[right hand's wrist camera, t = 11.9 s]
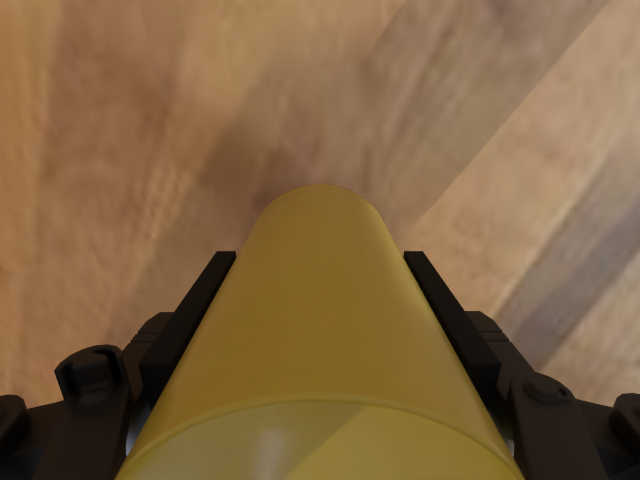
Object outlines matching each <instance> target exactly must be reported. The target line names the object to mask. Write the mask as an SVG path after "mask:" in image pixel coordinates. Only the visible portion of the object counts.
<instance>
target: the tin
mask: <svg viewBox="0 0 640 480" xmlns="http://www.w3.org/2000/svg"><path fill="white" fill-rule="evenodd" d="M114 480H525V478H524V477H523V475H522V473H521V471H520V469H519V467H518V466H517V464H516V462H515V460H514V458H513V456H512V455H511V453H510V451H509V449H508V447H507V446H506V444H505V442H504V440H503V438H502V436H501V435H500V433H499V431H498V429H497V427H496V425H495V424H494V422H493V420H492V418H491V416H490V415H489V413H488V411H487V409H486V407H485V405H484V404H483V402H482V400H481V398H480V396H479V394H478V393H477V391H476V389H475V387H474V385H473V384H472V382H471V380H470V378H469V376H468V374H467V373H466V371H465V369H464V367H463V365H462V363H461V362H460V360H459V358H458V356H457V354H456V353H455V351H454V349H453V347H452V345H451V343H450V342H449V340H448V338H447V336H446V334H445V332H444V331H443V329H442V327H441V325H440V323H439V322H438V320H437V318H436V316H435V314H434V312H433V311H432V309H431V307H430V305H429V303H428V302H427V300H426V298H425V296H424V294H423V292H422V291H421V289H420V287H419V285H418V283H417V281H416V280H415V278H414V276H413V274H412V272H411V271H410V269H409V267H408V265H407V263H406V261H405V260H404V258H403V256H402V254H401V252H400V250H399V249H398V247H397V245H396V243H395V241H394V240H393V238H392V236H391V234H390V232H389V230H388V229H387V227H386V225H385V223H384V221H383V219H382V218H381V216H380V215H379V213H378V212H377V211H376V209H375V208H374V207H373V206H372V205H371V204H370V203H369V202H368V201H366V200H365V199H364V198H362V197H361V196H359V195H358V194H356V193H354V192H352V191H350V190H348V189H345V188H342V187H339V186H333V185H326V184H315V185H306V186H302V187H298V188H295V189H292V190H290V191H288V192H286V193H284V194H282V195H280V196H279V197H277V198H276V199H275V200H273V201H272V202H271V203H270V204H269V205H268V206H267V207H266V208H265V209H264V211H263V212H262V213H261V214H260V216H259V218H258V219H257V221H256V223H255V225H254V226H253V228H252V230H251V232H250V234H249V236H248V237H247V239H246V241H245V243H244V245H243V246H242V248H241V250H240V252H239V254H238V256H237V257H236V259H235V261H234V263H233V265H232V266H231V268H230V270H229V272H228V274H227V276H226V277H225V279H224V281H223V283H222V285H221V286H220V288H219V290H218V292H217V294H216V296H215V297H214V299H213V301H212V303H211V305H210V306H209V308H208V310H207V312H206V314H205V316H204V317H203V319H202V321H201V323H200V325H199V326H198V328H197V330H196V332H195V334H194V336H193V337H192V339H191V341H190V343H189V345H188V346H187V348H186V350H185V352H184V354H183V356H182V357H181V359H180V361H179V363H178V365H177V366H176V368H175V370H174V372H173V374H172V376H171V377H170V379H169V381H168V383H167V385H166V386H165V388H164V390H163V392H162V394H161V396H160V397H159V399H158V401H157V403H156V405H155V406H154V408H153V410H152V412H151V414H150V416H149V417H148V419H147V421H146V423H145V425H144V426H143V428H142V430H141V432H140V434H139V436H138V437H137V439H136V441H135V443H134V445H133V446H132V448H131V450H130V452H129V454H128V456H127V457H126V459H125V461H124V463H123V465H122V466H121V468H120V470H119V472H118V474H117V476H116V477H115V479H114Z"/></svg>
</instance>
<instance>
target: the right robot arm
mask: <svg viewBox="0 0 640 480" xmlns="http://www.w3.org/2000/svg"><path fill="white" fill-rule="evenodd" d="M403 258H404V260H405V261H406V263H407V265H408V267H409V269H410V271H411V272H412V274H413V276H414V278H415V280H416V281H417V283H418V285H419V287H420V289H421V291H422V292H423V294H424V296H425V298H426V300H427V302H428V303H429V305H430V307H431V309H432V311H433V312H434V314H435V316H436V318H437V320H438V322H439V323H440V325H441V327H442V329H443V331H444V332H445V334H446V336H447V338H448V340H449V342H450V343H451V345H452V347H453V349H454V351H455V353H456V354H457V356H458V358H459V360H460V362H461V363H462V365H463V367H464V369H465V371H466V373H467V374H468V376H469V378H470V380H471V382H472V384H473V385H474V387H475V389H476V391H477V393H478V394H479V396H480V398H481V400H482V402H483V404H484V405H485V407H486V409H487V411H488V413H489V415H490V416H491V418H492V420H493V422H494V424H495V425H496V427H497V429H498V431H499V433H500V435H501V436H502V438H503V440H504V442H505V444H506V446H507V447H508V449H509V451H510V453H511V455H512V456H513V458H514V460H515V462H516V464H517V466H518V467H519V469H520V471H521V473H522V475H523V477H524V478H525V480H640V394H635V393H627V394H622V395H620V396H619V397H617V398H616V401H615V403H614V406H613V408H612V407H608V406H604V405H599V404H595V403H591V402H586V401H582V400H579V399H575V397H574V396H573V394H572V393H571V391H570V390H569V389H568V388H566V387H565V386H564V385H563V384H562V383H560V382H558V381H557V380H555V379H553V378H551V377H549V376H546V375H543V374H540V373H537V372H535V371H534V370H533V369H532V367H531V366H530V365H529V364H528V362H527V361H526V360H525V359H524V357H523V356H522V355H521V354H520V353H519V351H518V350H517V349H516V348H515V346H514V345H513V344H512V343H511V342H509V339H508V338H507V336H506V335H505V334H504V333H502V330H501V329H500V328H499V327H498V325H497V324H496V323H495V322H494V320H492V319H491V318H489V317H488V316H486V315H485V314H483V313H482V312H480V311H464V309H463V308H462V307H461V305H460V304H459V302H458V301H457V299H456V298H455V297H454V295H453V294H452V292H451V291H450V289H449V288H448V287H447V285H446V284H445V282H444V281H443V280H442V278H441V277H440V275H439V274H438V272H437V271H436V270H435V268H434V267H433V265H432V264H431V262H430V261H429V260H428V258H427V257H426V255H425V254H424V252H423V251H404V257H403ZM235 259H236V251H217V252H216V253H215V255H214V256H213V258H212V259H211V261H210V262H209V263H208V265H207V266H206V268H205V269H204V270H203V272H202V273H201V275H200V276H199V278H198V279H197V280H196V282H195V283H194V285H193V286H192V288H191V289H190V290H189V292H188V293H187V295H186V296H185V297H184V299H183V300H182V302H181V303H180V305H179V306H178V307H177V309H176V310H175V312H160V313H158V314H157V315H155V316H154V317H152V318H151V319H149V320H148V321H146V322H145V324H144V325H143V326H142V327H141V329H140V330H139V331H138V334H136V335H135V336H134V337H133V339H132V340H131V343H129V344H128V345H127V346H126V347H125V349H124V350H123V351H121V350H120V349H119V348H118V347H117V346H113V345H96V346H92V347H89V348H85V349H82V350H80V351H78V352H76V353H74V354H72V355H70V356H69V357H67V358H66V359H65V360H63V361H62V362H61V363H60V364H59V365H58V366H57V368H56V369H55V370H54V372H55V375H56V378H57V381H58V384H59V386H60V389H61V392H62V395H63V398H64V400H63V401H60V402H56V403H51V404H47V405H43V406H39V407H34V408H30V409H27V407H26V405H25V402H24V400H23V399H22V398H21V397H19V396H18V395H3V396H0V480H114V479H115V477H116V476H117V474H118V472H119V470H120V468H121V466H122V465H123V463H124V461H125V459H126V457H127V456H128V454H129V452H130V450H131V448H132V446H133V445H134V443H135V441H136V439H137V437H138V436H139V434H140V432H141V430H142V428H143V426H144V425H145V423H146V421H147V419H148V417H149V416H150V414H151V412H152V410H153V408H154V406H155V405H156V403H157V401H158V399H159V397H160V396H161V394H162V392H163V390H164V388H165V386H166V385H167V383H168V381H169V379H170V377H171V376H172V374H173V372H174V370H175V368H176V366H177V365H178V363H179V361H180V359H181V357H182V356H183V354H184V352H185V350H186V348H187V346H188V345H189V343H190V341H191V339H192V337H193V336H194V334H195V332H196V330H197V328H198V326H199V325H200V323H201V321H202V319H203V317H204V316H205V314H206V312H207V310H208V308H209V306H210V305H211V303H212V301H213V299H214V297H215V296H216V294H217V292H218V290H219V288H220V286H221V285H222V283H223V281H224V279H225V277H226V276H227V274H228V272H229V270H230V268H231V266H232V265H233V263H234V261H235Z"/></svg>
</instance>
